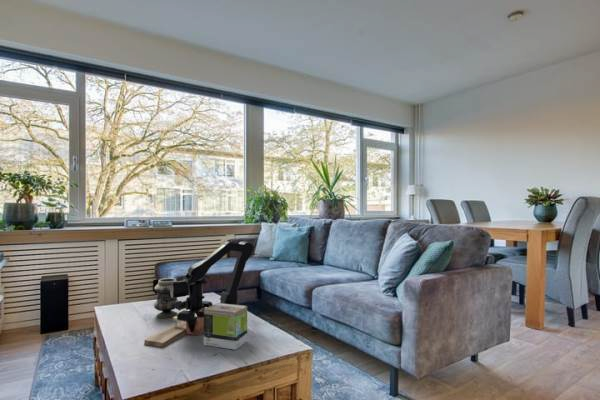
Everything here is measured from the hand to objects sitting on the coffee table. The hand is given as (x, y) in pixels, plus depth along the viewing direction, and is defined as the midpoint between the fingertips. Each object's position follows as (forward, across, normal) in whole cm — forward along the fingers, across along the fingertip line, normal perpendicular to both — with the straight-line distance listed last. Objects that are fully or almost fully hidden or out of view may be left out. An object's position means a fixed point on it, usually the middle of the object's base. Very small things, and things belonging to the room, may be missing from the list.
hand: (195, 329), depth 148 cm
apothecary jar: (+1, -15, -27) cm, 31 cm away
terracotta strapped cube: (+1, 0, -4) cm, 4 cm away
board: (+1, +6, -8) cm, 10 cm away
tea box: (+2, +6, +18) cm, 19 cm away
